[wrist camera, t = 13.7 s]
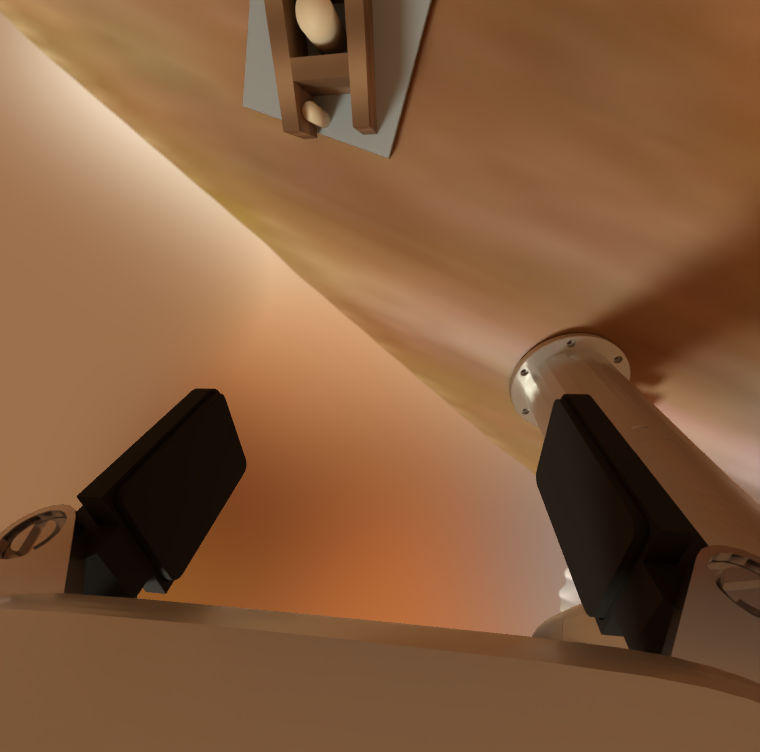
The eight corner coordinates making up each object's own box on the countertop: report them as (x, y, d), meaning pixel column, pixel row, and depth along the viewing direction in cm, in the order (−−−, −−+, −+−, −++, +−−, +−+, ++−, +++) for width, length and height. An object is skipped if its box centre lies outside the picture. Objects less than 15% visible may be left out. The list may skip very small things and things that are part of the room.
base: (445, -52, 24) (452, -120, 18) (389, 158, 30) (382, 154, 25) (266, -124, 23) (219, -216, 18) (249, 108, 30) (211, 92, 24)
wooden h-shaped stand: (277, -73, 23) (244, -131, 19) (368, -86, 22) (356, -149, 18) (304, 138, 29) (283, 131, 25) (377, 134, 28) (369, 125, 24)
